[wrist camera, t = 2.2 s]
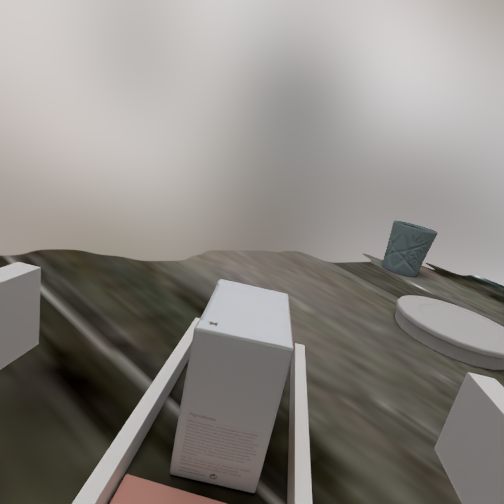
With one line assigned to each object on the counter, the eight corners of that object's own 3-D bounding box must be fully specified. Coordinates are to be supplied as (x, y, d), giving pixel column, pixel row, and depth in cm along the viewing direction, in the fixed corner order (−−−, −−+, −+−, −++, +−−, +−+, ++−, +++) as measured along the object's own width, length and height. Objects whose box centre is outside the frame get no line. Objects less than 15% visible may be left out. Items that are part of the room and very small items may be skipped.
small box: (254, 498, 20) (296, 351, 17) (166, 477, 20) (192, 327, 17) (261, 404, 28) (290, 292, 25) (197, 389, 28) (219, 276, 25)
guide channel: (26, 602, 14) (27, 569, 13) (193, 333, 36) (195, 317, 35) (307, 696, 13) (320, 665, 12) (299, 361, 35) (304, 345, 34)
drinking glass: (374, 260, 89) (388, 218, 85) (410, 268, 89) (425, 226, 85) (387, 273, 79) (403, 225, 76) (427, 281, 79) (446, 234, 76)
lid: (475, 321, 60) (481, 306, 59) (546, 390, 41) (557, 370, 40) (380, 296, 62) (385, 281, 61) (405, 349, 43) (413, 330, 42)
